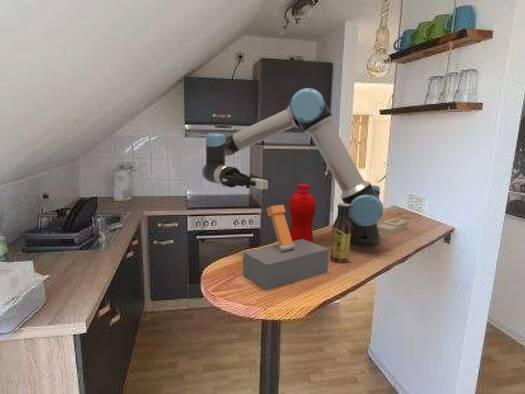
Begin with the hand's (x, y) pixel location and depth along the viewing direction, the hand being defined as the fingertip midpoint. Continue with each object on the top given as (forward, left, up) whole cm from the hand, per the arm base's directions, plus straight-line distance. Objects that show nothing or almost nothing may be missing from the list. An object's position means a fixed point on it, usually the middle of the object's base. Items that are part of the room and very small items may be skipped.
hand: (264, 185), depth 113 cm
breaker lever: (0, +12, -17) cm, 21 cm away
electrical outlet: (-72, 0, -27) cm, 77 cm away
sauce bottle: (-23, +13, -26) cm, 37 cm away
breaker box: (0, +12, -26) cm, 29 cm away
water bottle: (-17, -1, -26) cm, 31 cm away
